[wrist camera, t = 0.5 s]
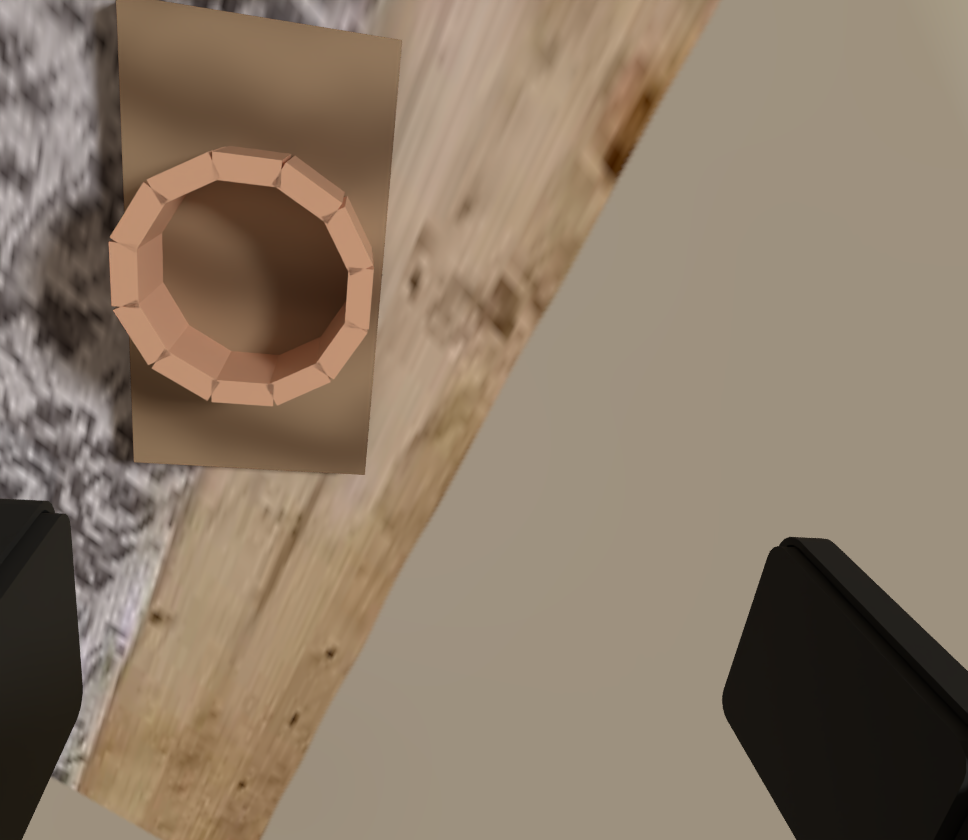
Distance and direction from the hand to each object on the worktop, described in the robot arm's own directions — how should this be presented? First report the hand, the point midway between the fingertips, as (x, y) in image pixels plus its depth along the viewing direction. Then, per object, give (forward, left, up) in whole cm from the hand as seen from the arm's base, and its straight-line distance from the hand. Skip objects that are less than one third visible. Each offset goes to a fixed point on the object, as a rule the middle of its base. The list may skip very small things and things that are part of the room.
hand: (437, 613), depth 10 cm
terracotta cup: (+1, -6, -27) cm, 27 cm away
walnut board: (+1, -6, -28) cm, 29 cm away
